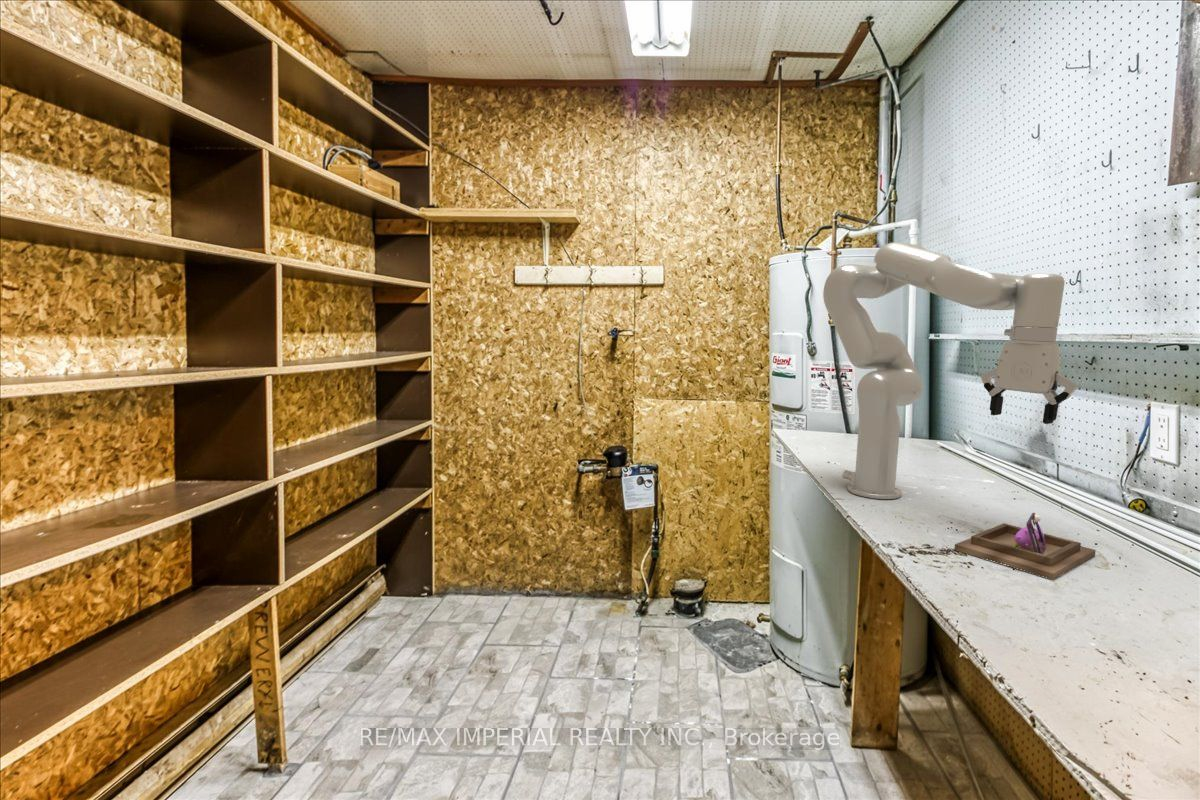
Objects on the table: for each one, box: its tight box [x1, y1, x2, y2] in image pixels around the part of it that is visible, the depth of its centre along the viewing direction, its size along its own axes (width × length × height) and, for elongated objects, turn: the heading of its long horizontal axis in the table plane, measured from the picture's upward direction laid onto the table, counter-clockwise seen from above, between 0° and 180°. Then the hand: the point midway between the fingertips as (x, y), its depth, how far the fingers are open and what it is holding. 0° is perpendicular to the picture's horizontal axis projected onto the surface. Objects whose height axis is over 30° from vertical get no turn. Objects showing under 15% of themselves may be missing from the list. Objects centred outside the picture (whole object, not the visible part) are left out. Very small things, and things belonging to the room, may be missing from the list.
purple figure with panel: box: [1014, 512, 1046, 554], centre depth 112 cm, size 7×5×9 cm
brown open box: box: [954, 523, 1096, 580], centre depth 114 cm, size 16×20×3 cm
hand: (1020, 418), depth 124 cm, fingers open, 9 cm apart
